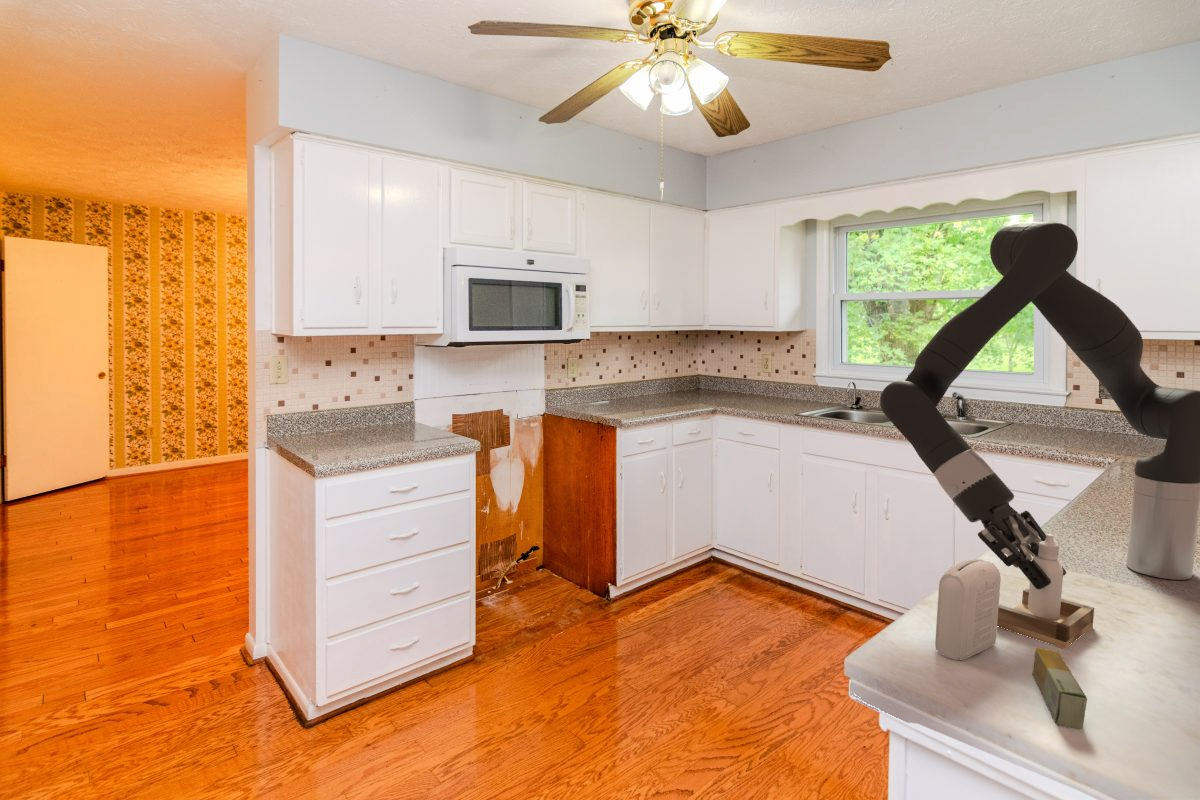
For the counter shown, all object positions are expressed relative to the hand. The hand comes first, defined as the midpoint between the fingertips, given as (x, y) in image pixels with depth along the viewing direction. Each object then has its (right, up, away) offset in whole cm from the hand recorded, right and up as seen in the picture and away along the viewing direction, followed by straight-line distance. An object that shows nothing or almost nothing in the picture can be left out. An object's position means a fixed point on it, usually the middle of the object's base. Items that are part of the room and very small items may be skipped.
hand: (1052, 581), depth 97 cm
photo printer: (-16, -8, -5) cm, 18 cm away
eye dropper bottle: (-1, -5, +1) cm, 5 cm away
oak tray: (-1, -7, +1) cm, 7 cm away
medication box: (-12, -10, -18) cm, 23 cm away
